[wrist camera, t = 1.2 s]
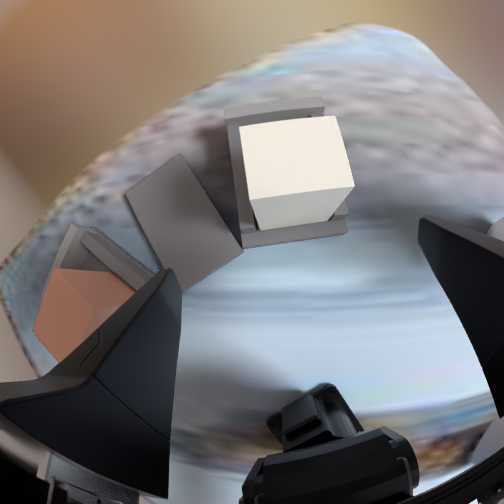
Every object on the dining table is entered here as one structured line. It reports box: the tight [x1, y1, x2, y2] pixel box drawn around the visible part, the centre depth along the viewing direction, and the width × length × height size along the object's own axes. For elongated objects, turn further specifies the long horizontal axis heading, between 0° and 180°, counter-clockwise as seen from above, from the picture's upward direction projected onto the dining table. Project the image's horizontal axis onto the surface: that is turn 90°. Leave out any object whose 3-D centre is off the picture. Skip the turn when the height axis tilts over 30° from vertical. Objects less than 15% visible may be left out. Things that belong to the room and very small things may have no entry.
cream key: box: [239, 116, 355, 231], centre depth 17 cm, size 4×5×8 cm
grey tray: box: [40, 97, 349, 300], centre depth 20 cm, size 13×30×4 cm, turn 123°
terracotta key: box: [33, 268, 137, 363], centre depth 17 cm, size 4×5×8 cm
